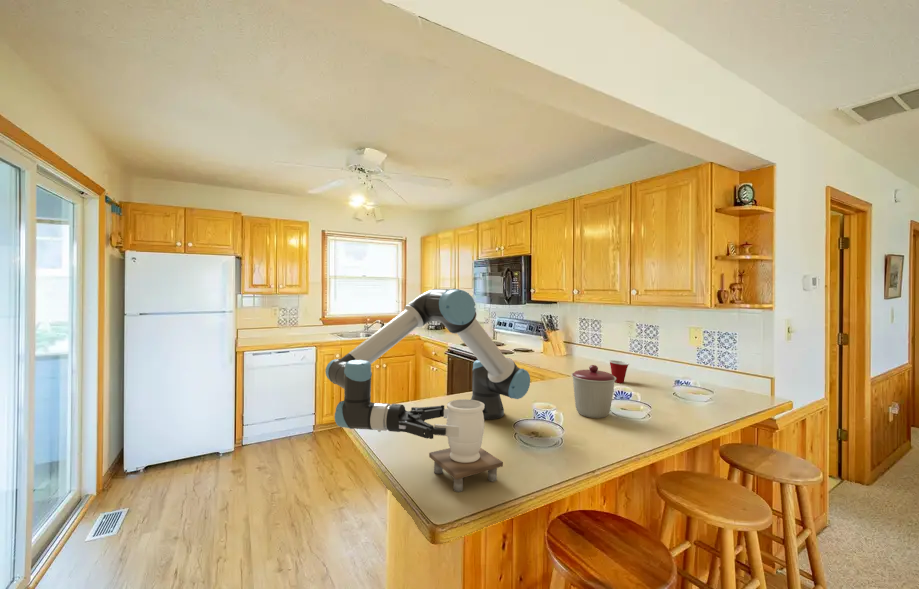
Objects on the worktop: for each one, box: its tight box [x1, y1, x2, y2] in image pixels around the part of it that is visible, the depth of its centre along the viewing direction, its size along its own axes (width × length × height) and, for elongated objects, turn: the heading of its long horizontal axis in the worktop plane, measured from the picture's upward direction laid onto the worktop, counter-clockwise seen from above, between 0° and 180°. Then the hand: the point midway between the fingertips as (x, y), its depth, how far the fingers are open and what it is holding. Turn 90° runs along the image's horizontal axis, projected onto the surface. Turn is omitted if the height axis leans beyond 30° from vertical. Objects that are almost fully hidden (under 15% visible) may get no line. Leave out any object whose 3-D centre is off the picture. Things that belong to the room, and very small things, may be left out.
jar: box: [445, 398, 485, 463], centre depth 108 cm, size 11×10×15 cm
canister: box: [570, 364, 616, 419], centre depth 163 cm, size 18×18×21 cm
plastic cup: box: [608, 359, 630, 384], centre depth 222 cm, size 11×11×12 cm
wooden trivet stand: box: [428, 447, 504, 493], centre depth 108 cm, size 15×15×5 cm
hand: (462, 422), depth 107 cm, fingers open, 13 cm apart
